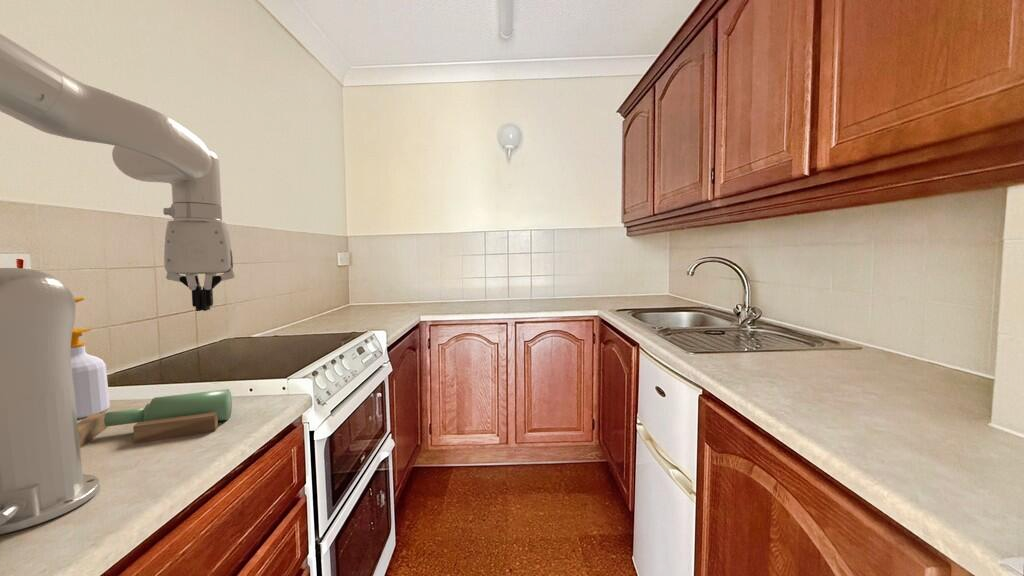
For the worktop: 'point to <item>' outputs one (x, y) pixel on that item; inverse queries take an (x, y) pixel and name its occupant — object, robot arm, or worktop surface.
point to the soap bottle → (88, 378)
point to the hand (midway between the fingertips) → (203, 310)
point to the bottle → (176, 408)
